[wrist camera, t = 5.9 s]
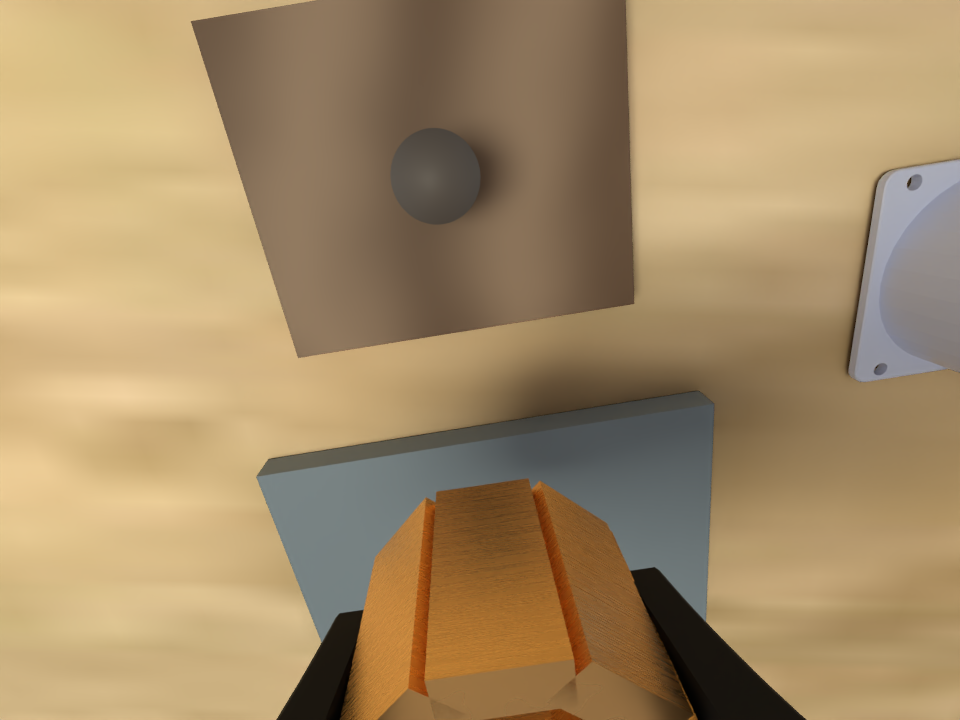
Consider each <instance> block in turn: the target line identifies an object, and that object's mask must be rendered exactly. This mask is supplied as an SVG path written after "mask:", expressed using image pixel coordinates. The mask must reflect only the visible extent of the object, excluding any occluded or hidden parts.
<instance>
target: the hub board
mask: <svg viewBox="0 0 960 720" xmlns="http://www.w3.org/2000/svg"><path fill="white" fill-rule="evenodd" d="M713 426H714V403H713V402H712V401H710V400H709V399H708V398H707V397H706V396H704V395H703V394H702V393H701V392H700V391H694V392H688V393H682V394H676V395H669V396H663V397H657V398H651V399H644V400H638V401H632V402H625V403H619V404H613V405H607V406H600V407H594V408H588V409H582V410H575V411H569V412H563V413H557V414H550V415H544V416H538V417H531V418H525V419H519V420H513V421H506V422H500V423H494V424H488V425H481V426H475V427H469V428H463V429H456V430H450V431H444V432H437V433H431V434H425V435H419V436H412V437H406V438H400V439H394V440H387V441H381V442H375V443H369V444H362V445H356V446H350V447H343V448H337V449H331V450H325V451H318V452H312V453H306V454H300V455H293V456H287V457H281V458H275V459H268V461H267V462H266V463H265V465H264V466H263V468H262V469H261V471H260V472H259V474H258V475H257V480H258V482H259V485H260V487H261V490H262V492H263V495H264V498H265V500H266V503H267V505H268V508H269V510H270V513H271V515H272V518H273V520H274V523H275V525H276V528H277V530H278V533H279V535H280V538H281V541H282V543H283V546H284V548H285V551H286V553H287V556H288V558H289V561H290V563H291V566H292V568H293V571H294V573H295V576H296V579H297V581H298V584H299V586H300V589H301V591H302V594H303V596H304V599H305V601H306V604H307V606H308V609H309V611H310V614H311V617H312V619H313V622H314V624H315V627H316V629H317V632H318V634H319V637H320V639H321V642H322V641H323V640H324V638H325V636H326V634H327V632H328V631H329V629H330V627H331V625H332V623H333V622H334V620H335V618H336V617H337V616H338V614H339V613H344V612H351V611H358V610H364V606H365V601H366V597H367V592H368V588H369V583H370V578H371V574H372V569H373V565H374V560H375V557H376V555H377V554H378V553H379V552H380V551H381V549H382V548H383V547H384V546H385V545H386V544H387V542H388V541H389V540H390V539H391V538H392V537H393V535H394V534H395V533H396V532H397V531H398V529H399V528H400V527H401V526H402V525H403V524H404V522H405V521H406V520H407V519H408V518H409V516H410V515H411V514H412V513H413V512H414V511H415V509H416V508H417V507H418V506H419V505H420V503H421V502H422V501H423V500H424V499H425V498H426V497H427V498H429V499H431V500H432V501H434V502H436V492H437V491H444V490H451V489H458V488H465V487H472V486H479V485H485V484H492V483H499V482H506V481H513V480H520V479H527V478H529V482H530V486H531V489H532V488H533V487H534V486H535V485H536V484H537V483H538V482H539V481H542V482H543V483H545V484H546V485H548V486H549V487H551V488H553V489H554V490H556V491H557V492H559V493H560V494H562V495H563V496H565V497H567V498H568V499H570V500H571V501H573V502H574V503H576V504H578V505H579V506H581V507H582V508H584V509H585V510H587V511H589V512H590V513H592V514H593V515H595V516H596V517H598V518H600V519H601V520H603V521H604V522H606V523H607V524H608V526H609V529H610V531H612V533H613V535H614V537H615V539H616V541H617V544H618V546H619V548H620V550H621V552H622V555H623V557H624V559H625V561H626V563H627V566H628V568H629V570H630V571H631V570H638V569H645V568H652V567H656V568H657V569H658V570H660V571H661V573H662V574H663V575H664V576H665V577H666V578H667V580H668V581H669V582H670V583H671V584H672V585H673V586H674V588H675V589H676V590H677V591H678V592H679V593H680V594H681V595H682V597H683V598H684V599H685V600H686V601H687V602H688V603H689V604H690V605H691V606H692V608H693V609H694V610H695V611H696V612H697V613H698V614H699V615H700V616H701V617H702V618H703V619H704V620H705V622H706V604H707V578H708V553H709V528H710V502H711V477H712V452H713Z"/></svg>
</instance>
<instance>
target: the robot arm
mask: <svg viewBox="0 0 960 720" xmlns="http://www.w3.org/2000/svg"><path fill="white" fill-rule="evenodd" d="M910 178H911V184H910V186H909V187H908V188H907V182H908V180H909V179H910ZM878 364H879V365H878ZM877 365H878V367H877V368H876V369H875V367H876V366H877ZM874 369H875V370H874ZM944 369H951V370H953V371H956V372H959V373H960V159H956V160H950V161H944V162H938V163H931V164H925V165H919V166H913V167H907V168H901V169H895V170H891V171H888V172H887V173H886V174H884V175H883V176H882V177H881V179H880V180H879V182H878V185H877V189H876V196H875V202H874V209H873V215H872V222H871V228H870V235H869V241H868V247H867V254H866V260H865V267H864V273H863V280H862V286H861V293H860V299H859V306H858V312H857V319H856V325H855V332H854V338H853V345H852V351H851V358H850V364H849V375H850V377H851V378H853V379H855V380H857V381H859V382H869V381H875V380H882V379H888V378H894V377H901V376H907V375H913V374H919V373H926V372H932V371H938V370H944ZM630 572H631V574H632V577H633V579H634V581H633V582H634V584H635V586H636V588H637V590H638V593H639V595H640V597H641V599H642V601H643V604H644V606H645V608H646V610H647V613H648V614H649V616H650V618H651V620H652V622H653V623H654V625H655V627H656V629H657V631H658V634H659V636H660V638H661V640H662V642H663V645H664V647H665V649H666V651H667V653H668V656H669V658H670V660H671V662H672V664H673V667H674V669H675V671H676V673H677V675H678V677H679V680H680V682H681V684H682V686H683V688H684V691H685V693H686V695H687V697H688V699H689V702H690V704H691V706H692V708H693V710H694V713H695V715H696V717H697V719H698V720H806V719H805V718H804V717H803V716H802V715H800V714H799V713H798V712H797V711H796V710H795V709H794V708H793V707H792V706H791V705H790V704H789V703H787V702H786V701H785V700H784V699H783V698H782V697H781V696H780V695H779V694H778V693H777V692H776V691H775V690H773V689H772V688H771V687H770V686H769V685H768V684H767V683H766V682H765V681H764V680H763V679H762V678H761V677H760V676H759V675H758V674H757V673H756V672H755V671H754V670H753V669H752V668H751V667H750V666H749V665H748V664H747V663H746V662H745V661H744V660H743V659H742V658H741V657H740V656H739V655H738V654H737V653H736V652H735V651H734V650H733V649H732V648H731V647H730V646H729V645H728V644H727V643H726V642H725V641H724V640H723V639H722V638H721V637H720V636H719V635H718V634H717V633H716V632H715V631H714V630H713V629H712V628H711V627H710V626H709V625H708V624H707V623H706V622H705V620H704V619H703V618H702V617H701V616H700V615H699V614H698V613H697V612H696V611H695V610H694V609H693V608H692V606H691V605H690V604H689V603H688V602H687V601H686V600H685V599H684V598H683V597H682V595H681V594H680V593H679V592H678V591H677V590H676V589H675V588H674V586H673V585H672V584H671V583H670V582H669V581H668V580H667V578H666V577H665V576H664V575H663V574H662V573H661V571H660V570H658V569H657V568H656V567H652V568H645V569H638V570H631V571H630ZM363 611H364V610H358V611H351V612H344V613H339V614H338V616H337V617H336V618H335V620H334V622H333V623H332V625H331V627H330V629H329V631H328V632H327V634H326V636H325V638H324V640H323V641H322V643H321V645H320V647H319V649H318V650H317V652H316V654H315V656H314V657H313V659H312V661H311V663H310V664H309V666H308V668H307V670H306V671H305V673H304V675H303V676H302V678H301V680H300V682H299V683H298V685H297V687H296V688H295V690H294V692H293V693H292V695H291V697H290V698H289V700H288V702H287V703H286V705H285V706H284V708H283V710H282V711H281V713H280V715H279V716H278V718H277V720H340V717H341V712H342V708H343V703H344V698H345V694H346V689H347V685H348V680H349V675H350V671H351V667H352V662H353V658H354V653H355V648H356V644H357V639H358V634H359V630H360V625H361V620H362V615H363Z"/></svg>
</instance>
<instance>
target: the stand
mask: <svg viewBox="0 0 960 720" xmlns="http://www.w3.org/2000/svg"><path fill="white" fill-rule="evenodd" d="M191 23H192V26H193V29H194V33H195V36H196V39H197V42H198V45H199V48H200V51H201V55H202V58H203V61H204V64H205V67H206V70H207V73H208V77H209V80H210V83H211V86H212V89H213V92H214V95H215V99H216V102H217V105H218V108H219V111H220V114H221V117H222V120H223V124H224V127H225V130H226V133H227V136H228V139H229V142H230V146H231V149H232V152H233V155H234V158H235V161H236V164H237V168H238V171H239V174H240V177H241V180H242V183H243V186H244V189H245V193H246V196H247V199H248V202H249V205H250V208H251V211H252V215H253V218H254V221H255V224H256V227H257V230H258V233H259V237H260V240H261V243H262V246H263V249H264V252H265V255H266V258H267V262H268V265H269V268H270V271H271V274H272V277H273V280H274V284H275V287H276V290H277V293H278V296H279V299H280V302H281V306H282V309H283V312H284V315H285V318H286V321H287V324H288V328H289V331H290V334H291V337H292V340H293V343H294V346H295V349H296V353H297V356H298V358H301V357H307V356H313V355H319V354H325V353H332V352H338V351H344V350H350V349H357V348H363V347H369V346H375V345H381V344H388V343H394V342H400V341H406V340H412V339H419V338H425V337H431V336H437V335H443V334H450V333H456V332H462V331H468V330H474V329H481V328H487V327H493V326H499V325H506V324H512V323H518V322H524V321H530V320H537V319H543V318H549V317H555V316H561V315H568V314H574V313H580V312H586V311H592V310H599V309H605V308H611V307H617V306H624V305H630V304H634V276H633V242H632V208H631V174H630V140H629V106H628V72H627V38H626V4H625V0H316V1H310V2H304V3H298V4H292V5H286V6H280V7H274V8H268V9H262V10H256V11H250V12H244V13H238V14H232V15H226V16H220V17H214V18H208V19H202V20H196V21H191Z"/></svg>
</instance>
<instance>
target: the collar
mask: <svg viewBox="0 0 960 720" xmlns="http://www.w3.org/2000/svg"><path fill="white" fill-rule="evenodd" d="M633 581H634V579H633V577H632V574H631V572H630V570H629V568H628V566H627V563H626V561H625V559H624V557H623V555H622V552H621V550H620V548H619V546H618V544H617V541H616V539H615V537H614V535H613V533H612V531H610V529H609V526H608V524H607V523H606V522H604V521H603V520H601V519H600V518H598V517H596V516H595V515H593V514H592V513H590V512H589V511H587V510H585V509H584V508H582V507H581V506H579V505H578V504H576V503H574V502H573V501H571V500H570V499H568V498H567V497H565V496H563V495H562V494H560V493H559V492H557V491H556V490H554V489H553V488H551V487H549V486H548V485H546V484H545V483H543V482H542V481H539V482H538V483H537V484H536V485H535V486H534V487H533V488H532V489H531V486H530V482H529V478H527V479H520V480H513V481H506V482H499V483H492V484H485V485H479V486H472V487H465V488H458V489H451V490H444V491H437V492H436V502H434V501H432V500H431V499H429V498H427V497H426V498H425V499H424V500H423V501H422V502H421V503H420V505H419V506H418V507H417V508H416V509H415V511H414V512H413V513H412V514H411V515H410V516H409V518H408V519H407V520H406V521H405V522H404V524H403V525H402V526H401V527H400V528H399V529H398V531H397V532H396V533H395V534H394V535H393V537H392V538H391V539H390V540H389V541H388V542H387V544H386V545H385V546H384V547H383V548H382V549H381V551H380V552H379V553H378V554H377V555H376V557H375V560H374V565H373V569H372V574H371V578H370V583H369V588H368V592H367V597H366V601H365V606H364V611H363V615H362V620H361V625H360V630H359V634H358V639H357V644H356V648H355V653H354V658H353V662H352V667H351V671H350V675H349V680H348V685H347V689H346V694H345V698H344V703H343V708H342V712H341V717H340V720H698V719H697V717H696V715H695V713H694V710H693V708H692V706H691V704H690V702H689V699H688V697H687V695H686V693H685V691H684V688H683V686H682V684H681V682H680V680H679V677H678V675H677V673H676V671H675V669H674V667H673V664H672V662H671V660H670V658H669V656H668V653H667V651H666V649H665V647H664V645H663V642H662V640H661V638H660V636H659V634H658V631H657V629H656V627H655V625H654V623H653V622H652V620H651V618H650V616H649V614H648V613H647V610H646V608H645V606H644V604H643V601H642V599H641V597H640V595H639V593H638V590H637V588H636V586H635V584H634V582H633Z"/></svg>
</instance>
